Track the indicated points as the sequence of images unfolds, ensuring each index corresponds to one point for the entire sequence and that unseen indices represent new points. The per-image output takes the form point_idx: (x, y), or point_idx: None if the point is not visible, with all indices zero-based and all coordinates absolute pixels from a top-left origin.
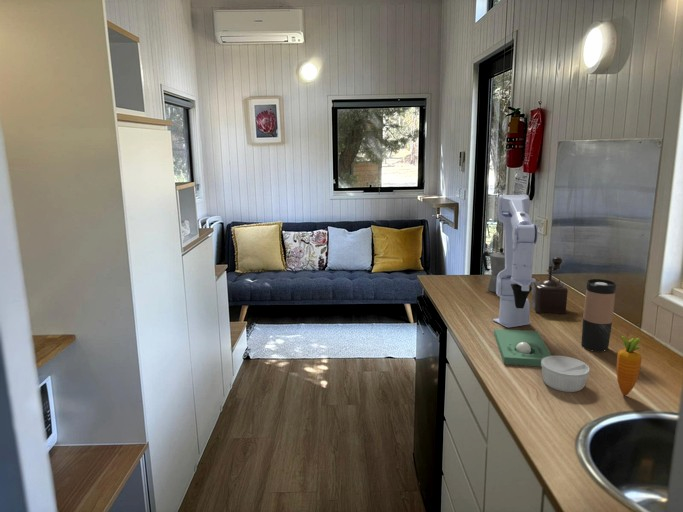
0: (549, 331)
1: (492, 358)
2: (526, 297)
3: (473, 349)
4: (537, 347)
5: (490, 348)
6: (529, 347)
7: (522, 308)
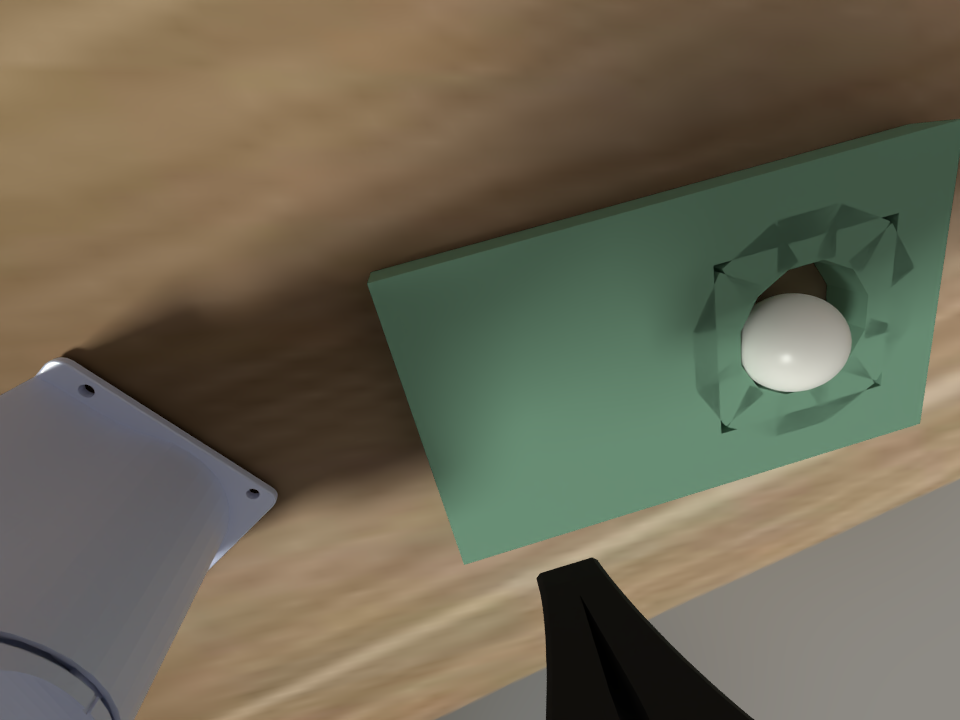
0: (146, 174)
1: (815, 464)
2: (739, 709)
3: (717, 563)
4: (743, 254)
5: (685, 501)
6: (834, 310)
7: (599, 564)
